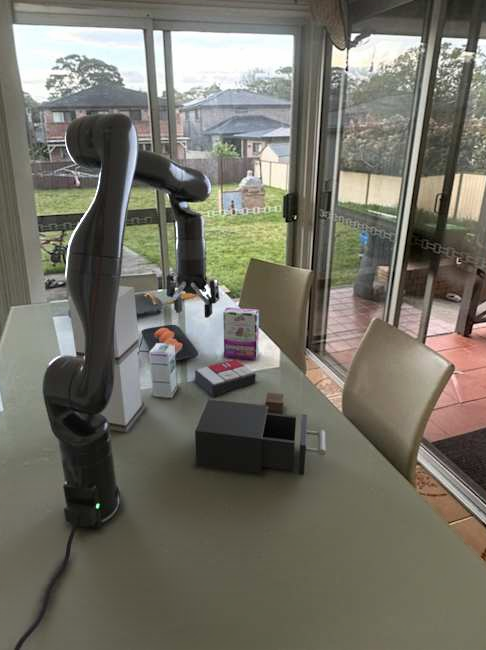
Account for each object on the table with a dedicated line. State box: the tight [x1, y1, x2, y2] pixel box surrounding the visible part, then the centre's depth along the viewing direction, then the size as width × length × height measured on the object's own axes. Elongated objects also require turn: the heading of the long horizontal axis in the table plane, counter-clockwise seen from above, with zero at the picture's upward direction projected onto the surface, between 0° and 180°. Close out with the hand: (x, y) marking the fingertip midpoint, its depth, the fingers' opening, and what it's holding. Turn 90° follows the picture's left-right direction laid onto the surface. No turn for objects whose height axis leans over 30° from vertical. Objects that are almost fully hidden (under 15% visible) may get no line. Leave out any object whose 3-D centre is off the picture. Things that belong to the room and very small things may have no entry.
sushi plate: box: [138, 324, 199, 362], centre depth 153 cm, size 29×30×4 cm
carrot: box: [166, 291, 203, 304], centre depth 202 cm, size 20×4×4 cm, turn 130°
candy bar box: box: [223, 307, 260, 361], centre depth 146 cm, size 11×5×16 cm, turn 76°
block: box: [264, 392, 285, 415], centre depth 117 cm, size 4×4×4 cm
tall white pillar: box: [67, 285, 145, 433], centre depth 110 cm, size 11×11×35 cm
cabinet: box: [194, 399, 268, 476], centre depth 102 cm, size 15×13×10 cm
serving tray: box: [68, 291, 164, 319], centre depth 185 cm, size 39×23×6 cm, turn 118°
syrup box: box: [148, 343, 178, 399], centre depth 125 cm, size 6×6×14 cm
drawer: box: [261, 413, 327, 476], centre depth 99 cm, size 18×11×8 cm, turn 78°
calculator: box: [194, 358, 257, 398], centre depth 132 cm, size 11×4×15 cm
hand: (193, 314), depth 116 cm, fingers open, 8 cm apart
